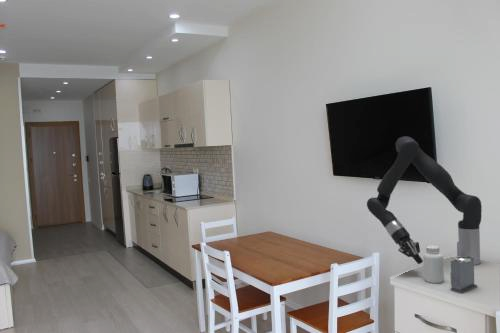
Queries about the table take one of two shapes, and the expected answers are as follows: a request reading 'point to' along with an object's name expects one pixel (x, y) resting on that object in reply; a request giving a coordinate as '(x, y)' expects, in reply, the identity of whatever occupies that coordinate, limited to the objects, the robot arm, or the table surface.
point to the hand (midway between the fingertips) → (420, 262)
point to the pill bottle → (433, 265)
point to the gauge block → (462, 274)
